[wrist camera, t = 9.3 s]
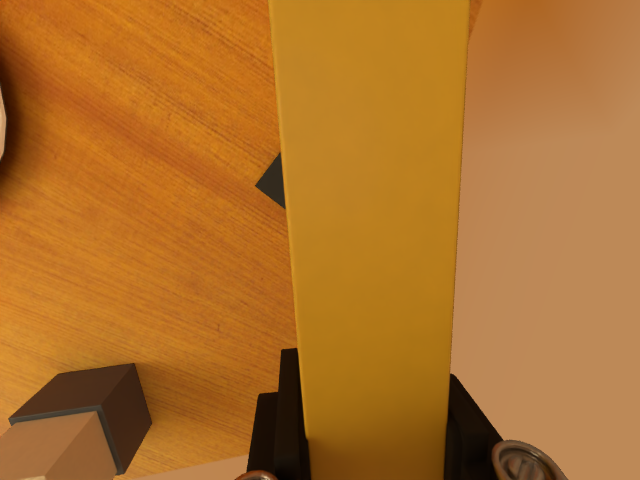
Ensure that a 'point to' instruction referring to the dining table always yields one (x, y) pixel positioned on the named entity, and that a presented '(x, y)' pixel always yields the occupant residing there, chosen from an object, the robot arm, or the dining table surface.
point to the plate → (2, 124)
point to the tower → (77, 427)
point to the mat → (273, 182)
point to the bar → (372, 223)
